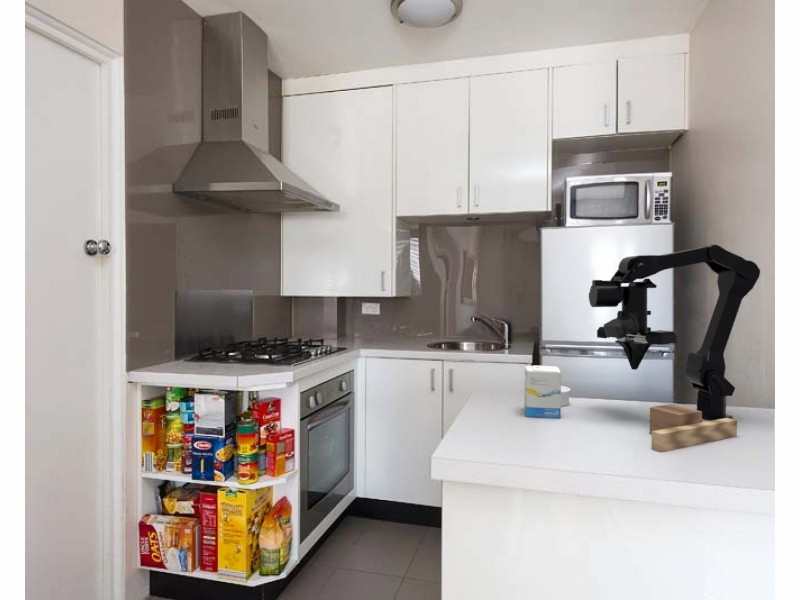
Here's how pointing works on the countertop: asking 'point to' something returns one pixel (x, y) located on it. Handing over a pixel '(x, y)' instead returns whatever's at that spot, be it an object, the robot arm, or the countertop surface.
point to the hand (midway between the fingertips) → (634, 369)
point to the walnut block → (672, 417)
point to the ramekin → (564, 395)
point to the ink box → (542, 391)
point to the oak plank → (693, 434)
